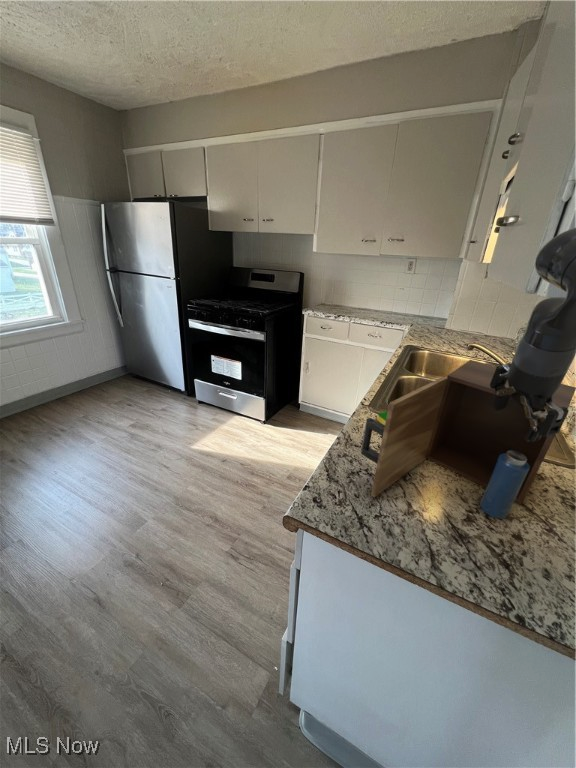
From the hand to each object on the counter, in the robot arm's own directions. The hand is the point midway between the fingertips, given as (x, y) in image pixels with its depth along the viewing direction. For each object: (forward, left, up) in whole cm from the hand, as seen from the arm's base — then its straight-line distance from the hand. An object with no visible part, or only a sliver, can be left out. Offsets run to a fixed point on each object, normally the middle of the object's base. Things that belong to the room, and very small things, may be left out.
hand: (513, 423), depth 63 cm
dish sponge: (+26, -12, -20) cm, 35 cm away
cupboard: (+4, -12, -20) cm, 23 cm away
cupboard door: (+19, +8, -20) cm, 29 cm away
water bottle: (-3, +2, -20) cm, 20 cm away
